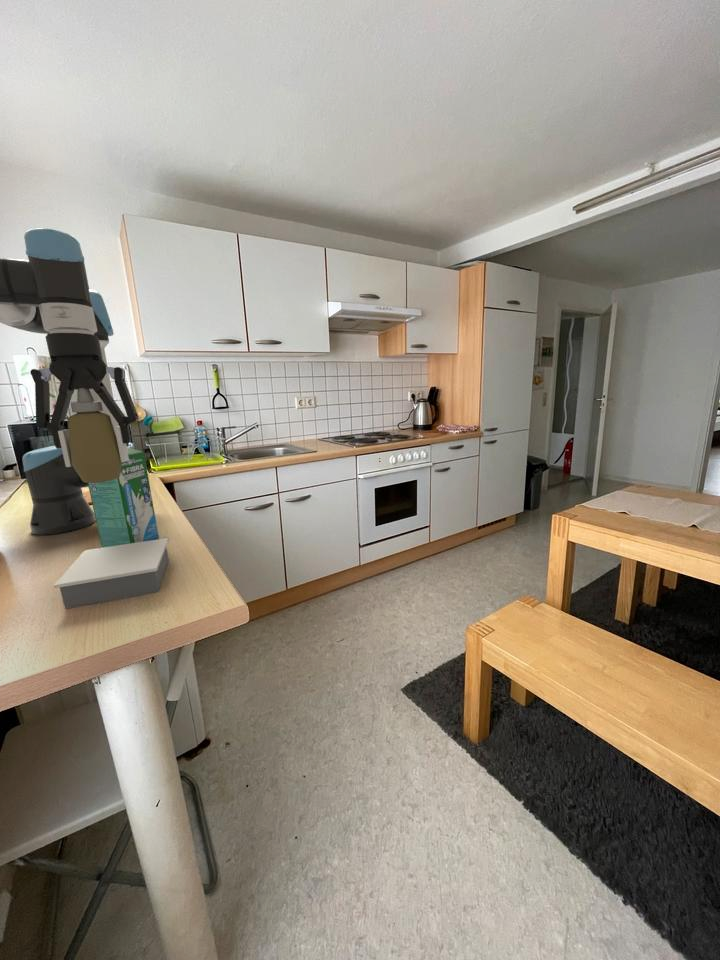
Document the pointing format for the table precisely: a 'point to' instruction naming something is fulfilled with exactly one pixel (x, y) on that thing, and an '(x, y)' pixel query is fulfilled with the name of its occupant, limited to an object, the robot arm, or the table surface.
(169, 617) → the table surface
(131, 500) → the milk carton
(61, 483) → the robot arm
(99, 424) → the squeeze bottle
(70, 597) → the display podium
